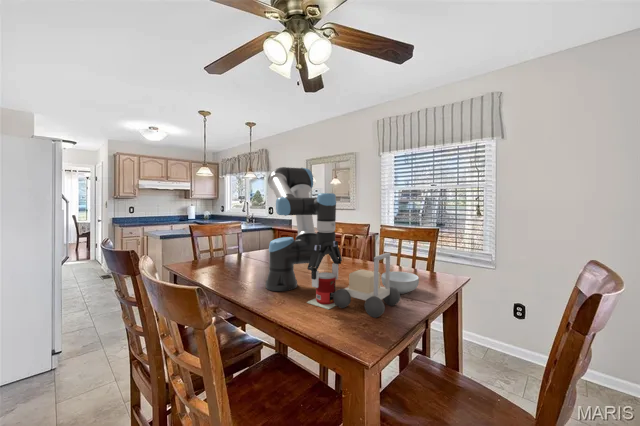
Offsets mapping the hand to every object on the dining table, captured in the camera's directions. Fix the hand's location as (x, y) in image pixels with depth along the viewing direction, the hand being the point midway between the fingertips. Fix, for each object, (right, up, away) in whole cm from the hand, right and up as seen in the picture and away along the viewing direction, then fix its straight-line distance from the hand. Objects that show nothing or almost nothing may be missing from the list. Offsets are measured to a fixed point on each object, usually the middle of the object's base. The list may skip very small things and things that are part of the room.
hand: (325, 282), depth 114 cm
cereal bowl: (+35, -8, +15) cm, 38 cm away
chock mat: (0, -8, 0) cm, 8 cm away
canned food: (0, -8, 0) cm, 8 cm away
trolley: (+16, -8, -4) cm, 19 cm away
